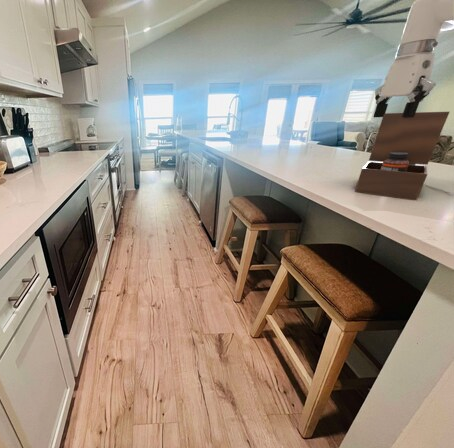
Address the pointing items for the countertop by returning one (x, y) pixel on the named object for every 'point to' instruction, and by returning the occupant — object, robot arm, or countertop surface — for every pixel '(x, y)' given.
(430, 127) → the lid
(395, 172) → the chest
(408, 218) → the countertop surface
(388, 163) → the supplement bottle
